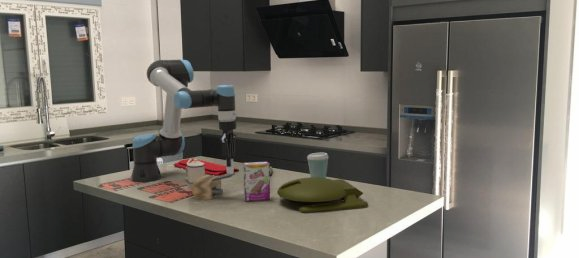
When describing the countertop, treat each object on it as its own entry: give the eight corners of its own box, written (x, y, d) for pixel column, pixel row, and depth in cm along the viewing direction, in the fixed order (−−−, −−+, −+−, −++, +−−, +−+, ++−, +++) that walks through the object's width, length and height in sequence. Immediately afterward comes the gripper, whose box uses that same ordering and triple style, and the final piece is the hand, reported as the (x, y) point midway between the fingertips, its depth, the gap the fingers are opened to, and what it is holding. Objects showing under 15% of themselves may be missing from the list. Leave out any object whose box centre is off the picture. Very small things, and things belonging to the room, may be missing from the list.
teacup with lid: (209, 180, 251) (208, 158, 249) (196, 184, 244) (195, 161, 242) (193, 177, 258) (192, 156, 257) (179, 181, 251) (178, 159, 249)
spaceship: (344, 190, 229) (344, 169, 227) (370, 208, 199) (370, 185, 198) (271, 196, 221) (270, 174, 220) (286, 216, 191) (285, 191, 190)
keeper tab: (211, 181, 215) (211, 179, 215) (217, 178, 221) (216, 176, 221) (230, 177, 212) (229, 175, 212) (235, 174, 218) (234, 172, 218)
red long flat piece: (217, 177, 260) (216, 170, 259) (173, 167, 288) (172, 161, 287) (239, 172, 271) (239, 165, 271) (195, 163, 299) (194, 157, 298)
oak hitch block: (194, 198, 217) (193, 181, 216) (205, 191, 229) (205, 175, 228) (210, 199, 215) (210, 182, 214) (221, 192, 227) (220, 175, 226)
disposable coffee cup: (315, 187, 233) (315, 156, 231) (303, 183, 242) (302, 153, 240) (333, 184, 239) (333, 154, 237) (320, 180, 248) (319, 150, 246)
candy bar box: (245, 202, 210) (244, 164, 208) (243, 199, 215) (242, 162, 213) (270, 200, 212) (269, 163, 210) (268, 197, 217) (267, 161, 215)
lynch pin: (192, 197, 219) (191, 186, 218) (197, 194, 224) (196, 183, 223) (219, 199, 216) (219, 187, 215) (224, 195, 221) (223, 184, 220)
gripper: (229, 122, 205) (232, 176, 208) (240, 118, 218) (243, 170, 221) (213, 122, 207) (216, 176, 210) (225, 119, 220) (228, 170, 223)
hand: (230, 173), depth 215 cm, fingers closed
